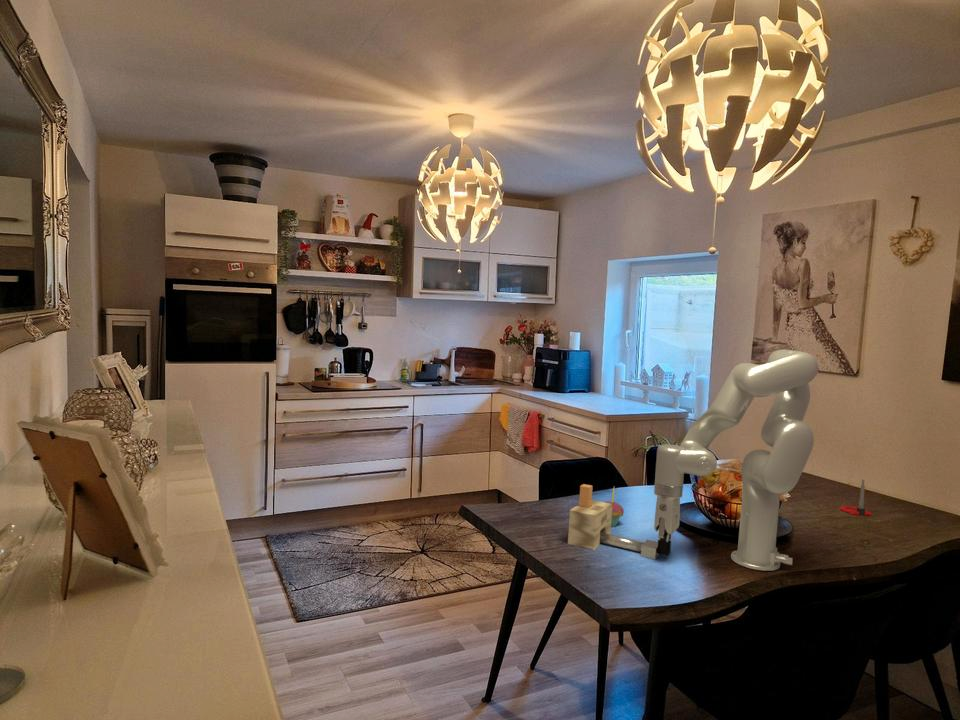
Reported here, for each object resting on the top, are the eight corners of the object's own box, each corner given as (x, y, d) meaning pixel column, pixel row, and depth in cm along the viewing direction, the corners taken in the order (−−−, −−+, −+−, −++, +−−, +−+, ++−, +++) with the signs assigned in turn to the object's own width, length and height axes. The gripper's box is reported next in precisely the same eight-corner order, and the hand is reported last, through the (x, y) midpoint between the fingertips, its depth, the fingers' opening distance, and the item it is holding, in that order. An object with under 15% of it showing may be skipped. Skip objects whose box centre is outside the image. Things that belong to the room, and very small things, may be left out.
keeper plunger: (591, 508, 188) (592, 485, 187) (587, 511, 185) (589, 487, 185) (582, 506, 189) (583, 484, 188) (578, 509, 187) (580, 486, 186)
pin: (660, 552, 179) (661, 542, 179) (655, 559, 174) (655, 548, 174) (599, 538, 188) (600, 529, 188) (593, 544, 183) (593, 534, 183)
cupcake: (601, 517, 208) (603, 482, 207) (626, 523, 204) (629, 487, 203) (592, 524, 201) (594, 487, 200) (618, 530, 196) (620, 492, 195)
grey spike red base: (835, 508, 234) (850, 515, 225) (837, 474, 234) (853, 479, 225) (857, 509, 235) (873, 516, 225) (859, 475, 234) (876, 480, 225)
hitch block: (610, 536, 191) (612, 504, 190) (593, 550, 179) (596, 515, 178) (585, 530, 195) (587, 498, 194) (567, 543, 183) (569, 510, 182)
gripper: (675, 498, 166) (670, 565, 167) (688, 486, 179) (683, 549, 180) (647, 493, 170) (642, 559, 171) (661, 481, 183) (657, 543, 184)
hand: (663, 553), depth 176 cm, fingers closed
